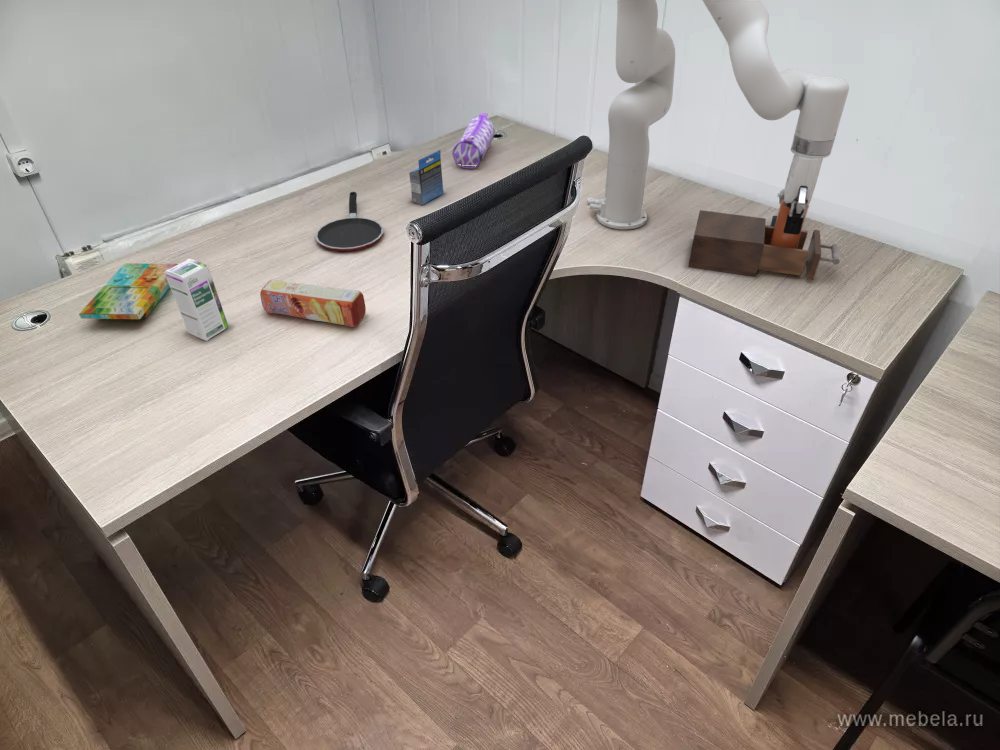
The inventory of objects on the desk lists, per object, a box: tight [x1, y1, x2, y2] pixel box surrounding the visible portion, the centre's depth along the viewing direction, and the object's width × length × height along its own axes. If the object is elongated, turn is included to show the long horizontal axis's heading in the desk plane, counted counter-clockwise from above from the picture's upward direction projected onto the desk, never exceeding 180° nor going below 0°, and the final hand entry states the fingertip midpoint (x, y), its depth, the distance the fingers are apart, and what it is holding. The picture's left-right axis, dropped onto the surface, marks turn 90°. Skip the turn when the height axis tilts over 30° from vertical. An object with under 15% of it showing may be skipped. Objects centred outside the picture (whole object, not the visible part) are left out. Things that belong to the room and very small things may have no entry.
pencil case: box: [452, 112, 495, 170], centre depth 202 cm, size 22×9×10 cm, turn 171°
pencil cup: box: [770, 199, 810, 249], centre depth 147 cm, size 6×6×13 cm
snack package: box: [259, 279, 367, 328], centre depth 137 cm, size 21×7×7 cm, turn 73°
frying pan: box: [314, 191, 384, 252], centre depth 169 cm, size 28×16×3 cm, turn 8°
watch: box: [770, 188, 785, 227], centre depth 162 cm, size 6×8×11 cm
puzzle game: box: [78, 262, 179, 320], centre depth 142 cm, size 12×5×20 cm
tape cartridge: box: [408, 149, 444, 206], centre depth 179 cm, size 9×4×12 cm, turn 144°
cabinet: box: [687, 209, 767, 278], centre depth 153 cm, size 15×13×8 cm
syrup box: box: [164, 258, 230, 342], centre depth 131 cm, size 6×6×14 cm
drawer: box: [757, 225, 840, 281], centre depth 149 cm, size 18×11×6 cm, turn 72°
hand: (791, 223), depth 146 cm, fingers open, 9 cm apart
